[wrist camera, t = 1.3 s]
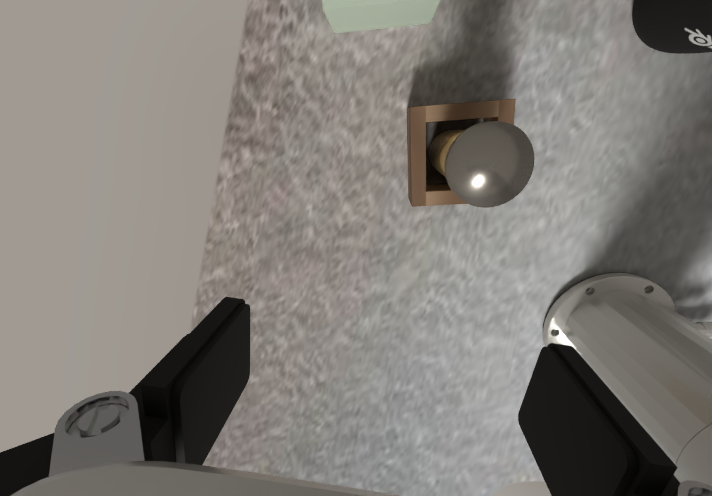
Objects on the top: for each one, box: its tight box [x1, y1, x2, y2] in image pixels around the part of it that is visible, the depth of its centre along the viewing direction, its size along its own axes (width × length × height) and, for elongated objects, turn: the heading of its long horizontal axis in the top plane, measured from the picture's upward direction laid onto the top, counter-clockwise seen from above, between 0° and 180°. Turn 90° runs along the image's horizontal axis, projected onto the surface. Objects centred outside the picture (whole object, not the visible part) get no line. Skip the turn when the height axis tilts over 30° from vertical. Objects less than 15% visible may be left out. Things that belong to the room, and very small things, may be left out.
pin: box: [429, 121, 534, 207], centre depth 25 cm, size 5×5×12 cm
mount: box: [407, 99, 515, 206], centre depth 29 cm, size 8×8×4 cm
